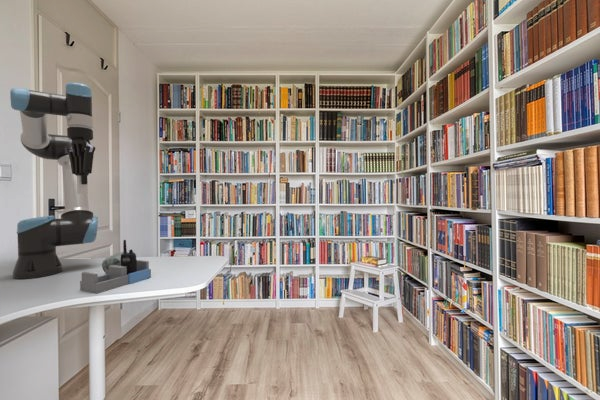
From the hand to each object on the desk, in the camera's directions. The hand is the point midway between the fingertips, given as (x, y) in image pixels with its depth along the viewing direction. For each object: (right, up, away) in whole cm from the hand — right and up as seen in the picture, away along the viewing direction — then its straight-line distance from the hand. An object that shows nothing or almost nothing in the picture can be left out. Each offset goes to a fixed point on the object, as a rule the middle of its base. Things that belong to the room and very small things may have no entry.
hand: (82, 193), depth 108 cm
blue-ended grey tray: (+13, -32, -1) cm, 35 cm away
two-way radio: (+15, -32, +4) cm, 36 cm away
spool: (+5, -32, +13) cm, 35 cm away
